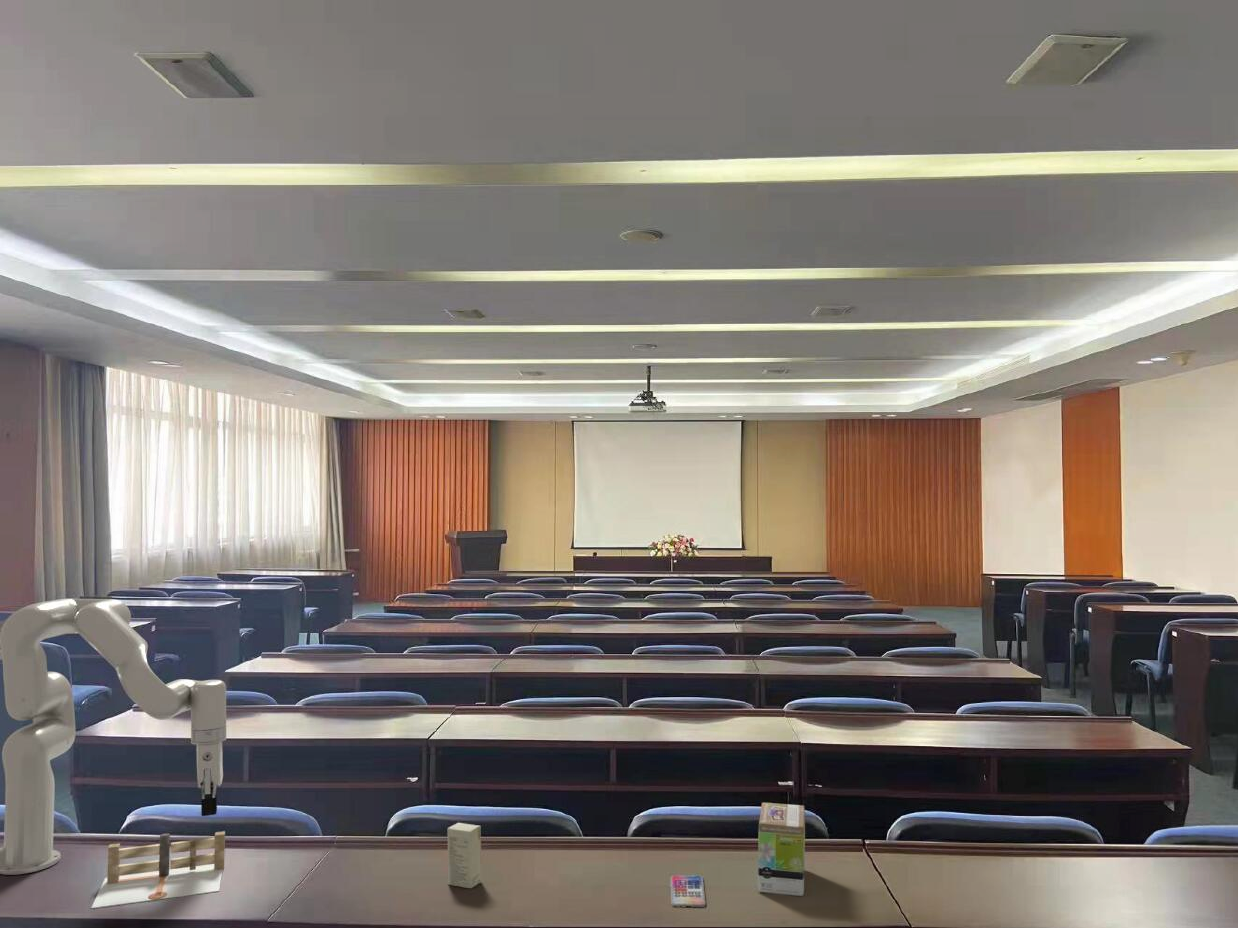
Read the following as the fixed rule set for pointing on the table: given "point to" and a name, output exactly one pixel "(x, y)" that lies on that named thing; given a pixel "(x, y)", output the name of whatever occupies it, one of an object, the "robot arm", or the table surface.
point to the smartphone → (687, 891)
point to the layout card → (159, 886)
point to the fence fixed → (141, 867)
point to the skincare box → (464, 855)
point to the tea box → (781, 849)
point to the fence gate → (200, 860)
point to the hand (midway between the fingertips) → (209, 814)
